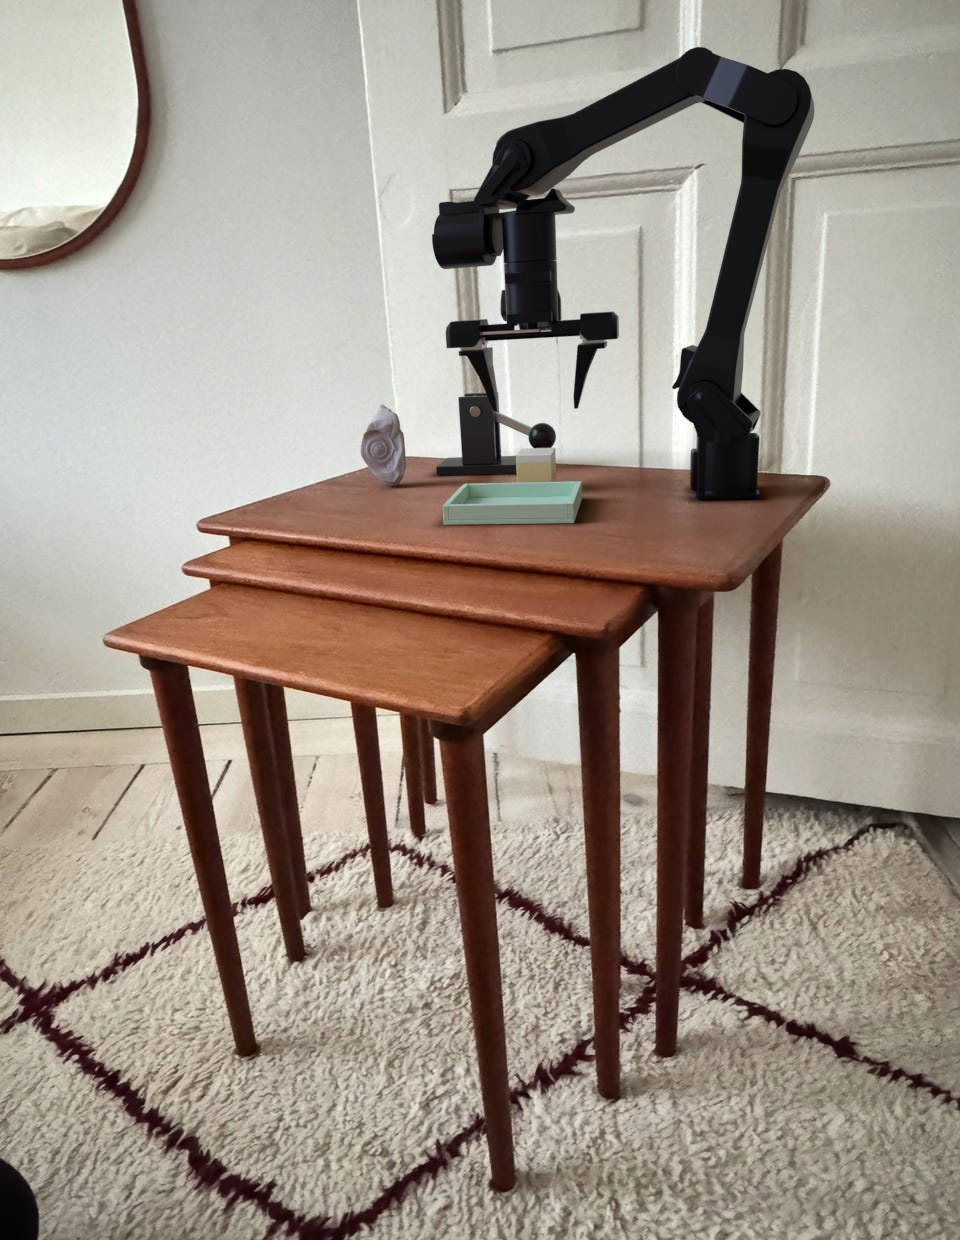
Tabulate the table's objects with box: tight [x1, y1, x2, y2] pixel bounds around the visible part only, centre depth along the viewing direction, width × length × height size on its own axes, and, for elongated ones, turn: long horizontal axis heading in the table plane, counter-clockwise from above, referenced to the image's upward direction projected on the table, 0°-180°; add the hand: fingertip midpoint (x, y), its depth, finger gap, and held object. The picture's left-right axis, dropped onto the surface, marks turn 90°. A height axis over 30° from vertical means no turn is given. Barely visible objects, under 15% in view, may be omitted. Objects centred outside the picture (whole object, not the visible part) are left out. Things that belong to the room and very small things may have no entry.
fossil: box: [360, 404, 407, 487], centre depth 110 cm, size 6×4×10 cm, turn 68°
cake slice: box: [515, 447, 557, 483], centre depth 103 cm, size 4×5×4 cm
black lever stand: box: [435, 391, 517, 477], centre depth 117 cm, size 11×7×10 cm, turn 80°
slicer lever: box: [474, 395, 557, 448], centre depth 116 cm, size 12×4×4 cm, turn 79°
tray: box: [442, 480, 583, 526], centre depth 94 cm, size 13×11×2 cm
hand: (535, 409), depth 101 cm, fingers open, 9 cm apart
